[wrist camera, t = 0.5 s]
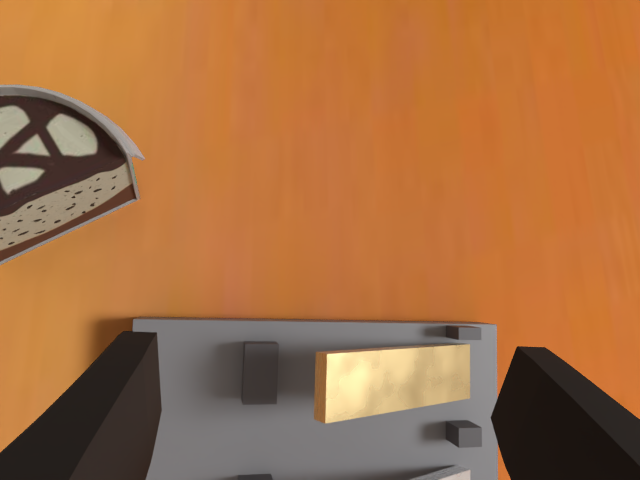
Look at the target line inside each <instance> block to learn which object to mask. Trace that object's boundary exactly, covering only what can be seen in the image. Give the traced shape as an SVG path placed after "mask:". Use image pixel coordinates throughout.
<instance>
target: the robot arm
mask: <svg viewBox="0 0 640 480" xmlns="http://www.w3.org/2000/svg"><path fill="white" fill-rule="evenodd" d="M161 412H162V406H161V389H160V373H159V357H158V341H157V332H134V331H123V332H122V333H121V334H120V335H118V336H117V338H116V339H115V340H114V341H113V342H112V343H111V344H110V345H109V346H108V347H107V348H106V349H105V350H104V352H103V353H102V354H101V355H100V356H99V357H98V358H97V359H96V360H95V361H94V362H93V363H92V364H91V365H90V367H89V368H88V369H87V370H86V371H85V372H84V373H83V374H82V375H81V376H80V377H79V378H78V379H77V380H76V381H75V382H74V383H73V384H72V385H71V386H70V387H69V388H68V389H67V390H66V391H65V392H64V393H63V394H62V395H61V396H60V397H59V398H58V399H57V400H56V401H55V402H54V403H53V404H52V405H51V406H50V407H49V408H48V409H47V410H46V411H45V412H44V413H43V414H42V415H41V416H40V417H39V418H38V419H37V420H36V421H35V422H34V423H32V424H31V425H30V426H29V427H28V428H27V429H26V430H25V431H24V432H23V433H21V434H20V435H19V436H18V437H17V438H16V439H15V440H14V441H13V442H12V443H10V444H9V445H8V446H7V447H6V448H5V449H4V450H3V451H2V452H0V480H146V477H147V473H148V470H149V467H150V464H151V460H152V455H153V451H154V446H155V441H156V437H157V432H158V427H159V422H160V417H161ZM491 421H492V424H493V428H494V431H495V435H496V438H497V442H498V445H499V448H500V451H501V454H502V458H503V461H504V464H505V467H506V469H507V471H508V474H509V476H510V478H511V480H640V419H638V418H637V417H636V416H634V415H633V414H632V413H631V412H629V411H628V410H627V409H625V408H624V407H623V406H622V405H620V404H619V403H618V402H616V401H615V400H614V399H613V398H611V397H610V396H609V395H607V394H606V393H605V392H604V391H602V390H601V389H600V388H599V387H597V386H596V385H595V384H593V383H592V382H591V381H590V380H588V379H587V378H586V377H584V376H583V375H582V374H581V373H579V372H578V371H577V370H575V369H574V368H573V367H571V366H570V365H569V364H568V363H566V362H565V361H564V360H562V359H561V358H559V357H558V356H557V355H555V354H554V353H552V352H551V351H550V350H548V349H547V348H545V347H519V346H517V348H516V351H515V353H514V356H513V359H512V361H511V364H510V367H509V369H508V372H507V375H506V377H505V380H504V383H503V386H502V388H501V391H500V394H499V396H498V399H497V402H496V404H495V407H494V410H493V412H492V415H491Z"/></svg>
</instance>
